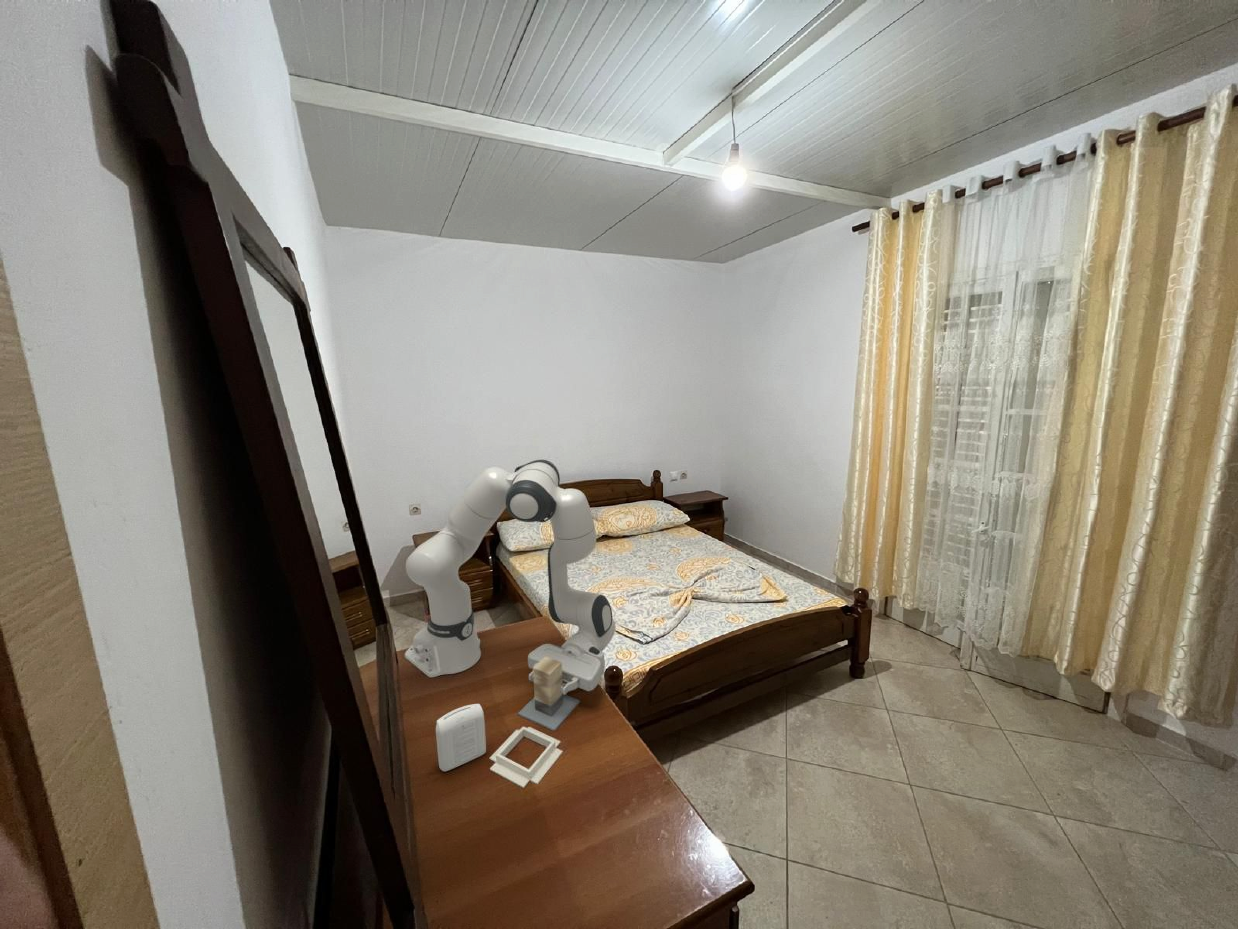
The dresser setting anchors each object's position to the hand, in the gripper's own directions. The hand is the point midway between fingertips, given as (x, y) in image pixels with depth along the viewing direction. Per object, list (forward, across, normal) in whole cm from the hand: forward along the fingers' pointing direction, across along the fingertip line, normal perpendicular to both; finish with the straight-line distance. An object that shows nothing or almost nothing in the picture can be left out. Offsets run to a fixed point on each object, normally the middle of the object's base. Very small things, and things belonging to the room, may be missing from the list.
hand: (546, 685), depth 116 cm
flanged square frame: (+13, +4, +8) cm, 16 cm away
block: (-1, 0, +7) cm, 7 cm away
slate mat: (-1, 0, +8) cm, 8 cm away
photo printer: (+20, -8, +8) cm, 23 cm away
